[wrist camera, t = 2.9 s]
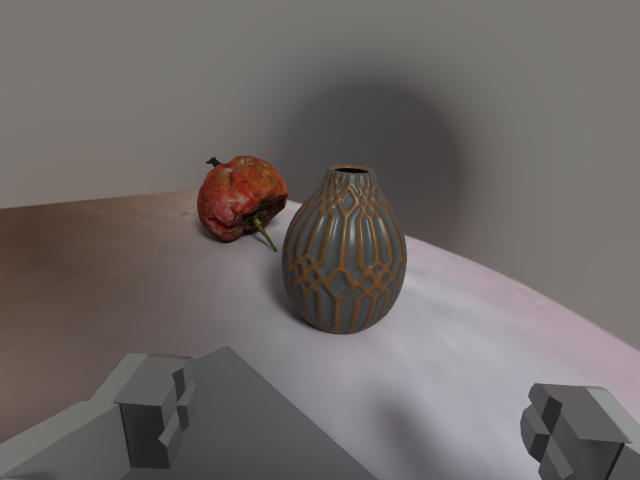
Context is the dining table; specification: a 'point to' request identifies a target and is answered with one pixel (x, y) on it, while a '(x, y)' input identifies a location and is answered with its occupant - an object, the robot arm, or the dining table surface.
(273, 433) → the mat
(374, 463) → the dining table surface
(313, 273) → the vase
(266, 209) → the pomegranate
